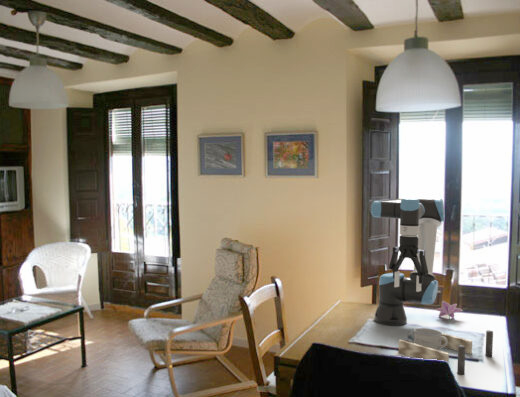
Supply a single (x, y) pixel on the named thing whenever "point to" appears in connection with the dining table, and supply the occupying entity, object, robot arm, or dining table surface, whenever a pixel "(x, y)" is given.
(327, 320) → the dining table surface
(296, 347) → the dining table surface
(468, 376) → the dining table surface
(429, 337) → the teacup
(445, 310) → the lily
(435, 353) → the wooden bars
